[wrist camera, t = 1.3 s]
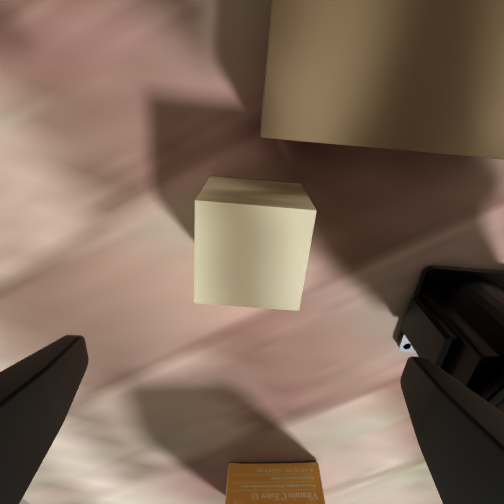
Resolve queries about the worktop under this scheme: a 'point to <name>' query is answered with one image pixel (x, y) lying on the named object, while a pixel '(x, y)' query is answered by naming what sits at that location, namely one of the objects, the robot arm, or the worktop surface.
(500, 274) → the robot arm
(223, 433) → the worktop surface
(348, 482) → the worktop surface
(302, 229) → the maple cube
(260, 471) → the small box
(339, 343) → the worktop surface
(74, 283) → the worktop surface
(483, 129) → the walnut block
